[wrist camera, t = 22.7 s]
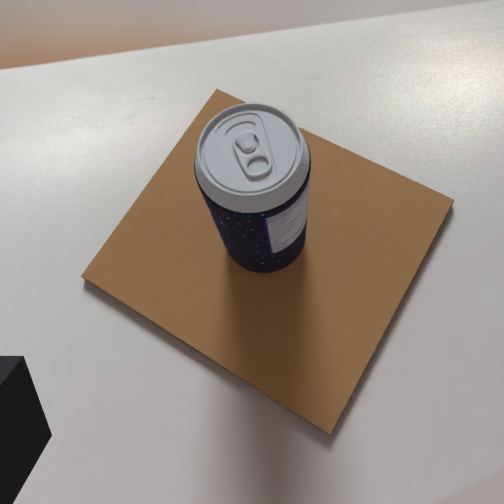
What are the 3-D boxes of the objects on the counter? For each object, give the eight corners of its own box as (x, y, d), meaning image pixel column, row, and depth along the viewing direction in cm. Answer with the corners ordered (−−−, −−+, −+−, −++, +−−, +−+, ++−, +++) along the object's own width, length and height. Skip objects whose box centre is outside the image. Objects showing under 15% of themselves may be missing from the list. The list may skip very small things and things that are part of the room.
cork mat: (451, 203, 32) (454, 199, 32) (329, 434, 28) (330, 435, 28) (217, 93, 37) (216, 88, 37) (84, 278, 33) (80, 276, 33)
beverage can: (285, 189, 33) (281, 78, 22) (319, 257, 31) (333, 174, 20) (213, 219, 33) (171, 122, 22) (243, 289, 31) (214, 224, 20)
